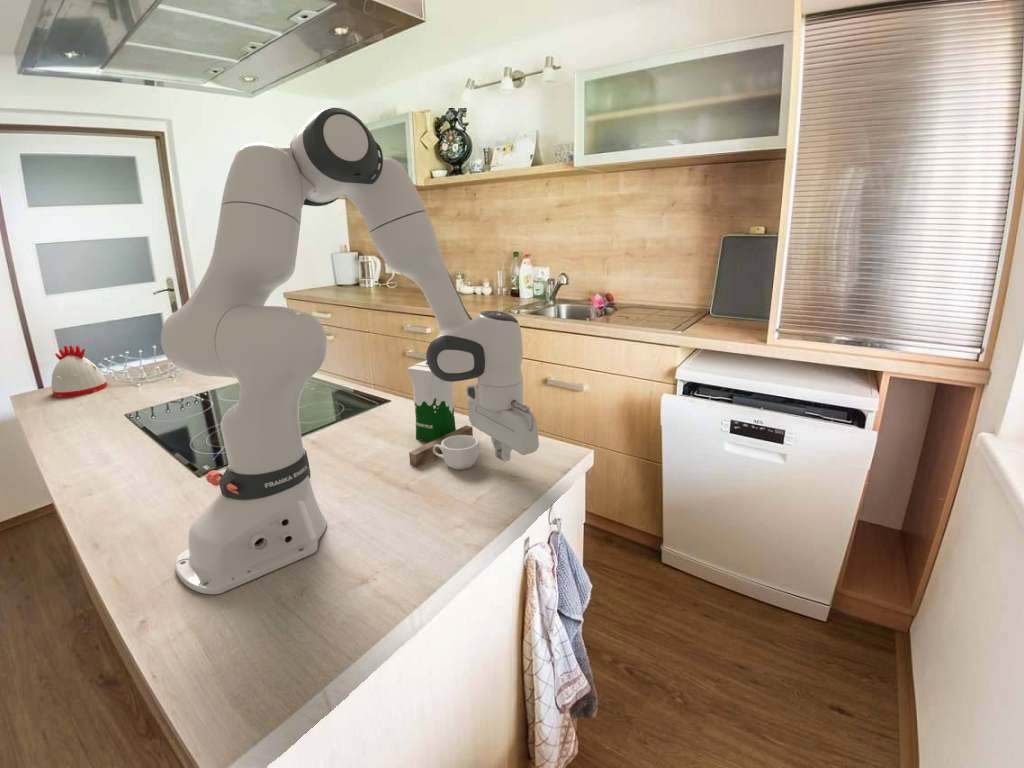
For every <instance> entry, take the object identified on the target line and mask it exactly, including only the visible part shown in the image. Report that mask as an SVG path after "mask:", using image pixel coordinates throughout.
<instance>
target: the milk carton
mask: <svg viewBox="0 0 1024 768" xmlns="http://www.w3.org/2000/svg"><path fill="white" fill-rule="evenodd" d="M407 371H408V373H409V378H410V380H411V384H412V390H413V402H414V403H413V404H414V413H415V439H416V440H420V441H424V442H428V443H430V442H432V441H434V440H436V439H438V438H440V437H442V436H445V435H447V434H449V433H451V432H453V431H455V430H457V429H456V419H455V409H454V408H455V407H454V392H453V382H448V381H444V380H441V379H439V378H438V377H436V376H435V375H434V374H433V373H432V372H431V370H430V369H429V367H428V364H427V360H423V361H420V362H418V363H414V364H413V365H412V366H409V367H407Z"/></svg>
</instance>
